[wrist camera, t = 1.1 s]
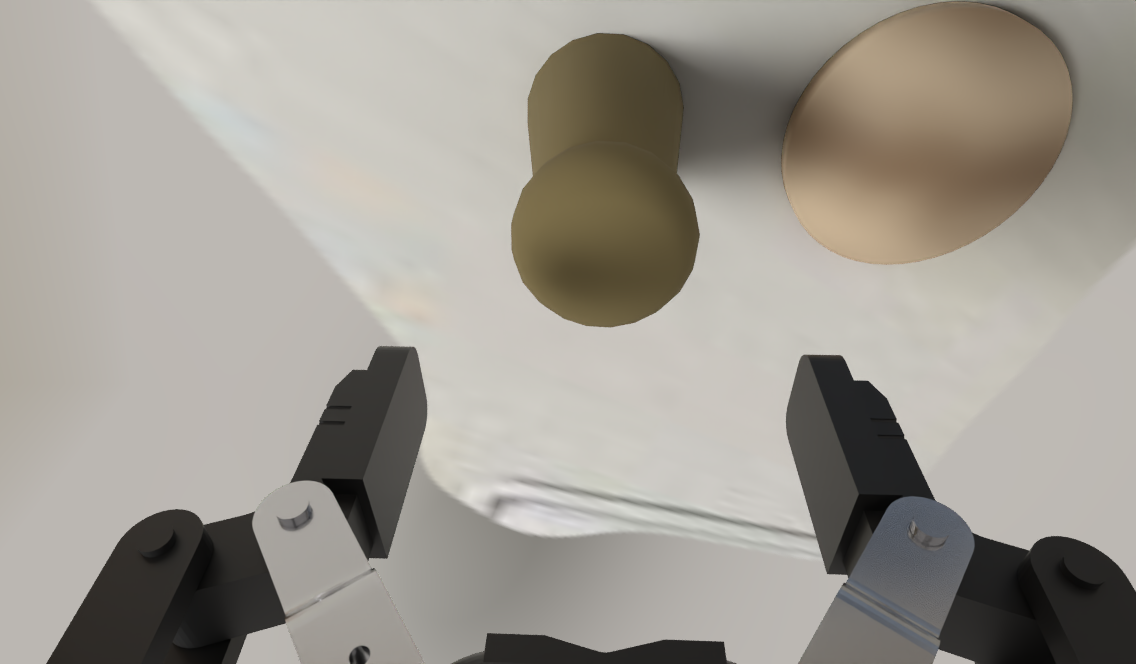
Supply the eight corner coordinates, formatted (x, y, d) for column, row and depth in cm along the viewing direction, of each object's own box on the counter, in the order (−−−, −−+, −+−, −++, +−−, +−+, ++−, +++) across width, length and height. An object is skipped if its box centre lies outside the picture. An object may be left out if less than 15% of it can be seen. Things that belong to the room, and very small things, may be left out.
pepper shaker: (715, 86, 25) (773, 236, 17) (628, 211, 29) (638, 389, 20) (575, -1, 23) (558, 114, 15) (500, 142, 27) (451, 304, 18)
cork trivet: (809, 2, 23) (817, 9, 22) (1109, 0, 23) (1127, 7, 22) (762, 250, 29) (766, 263, 29) (996, 253, 29) (1007, 266, 28)
